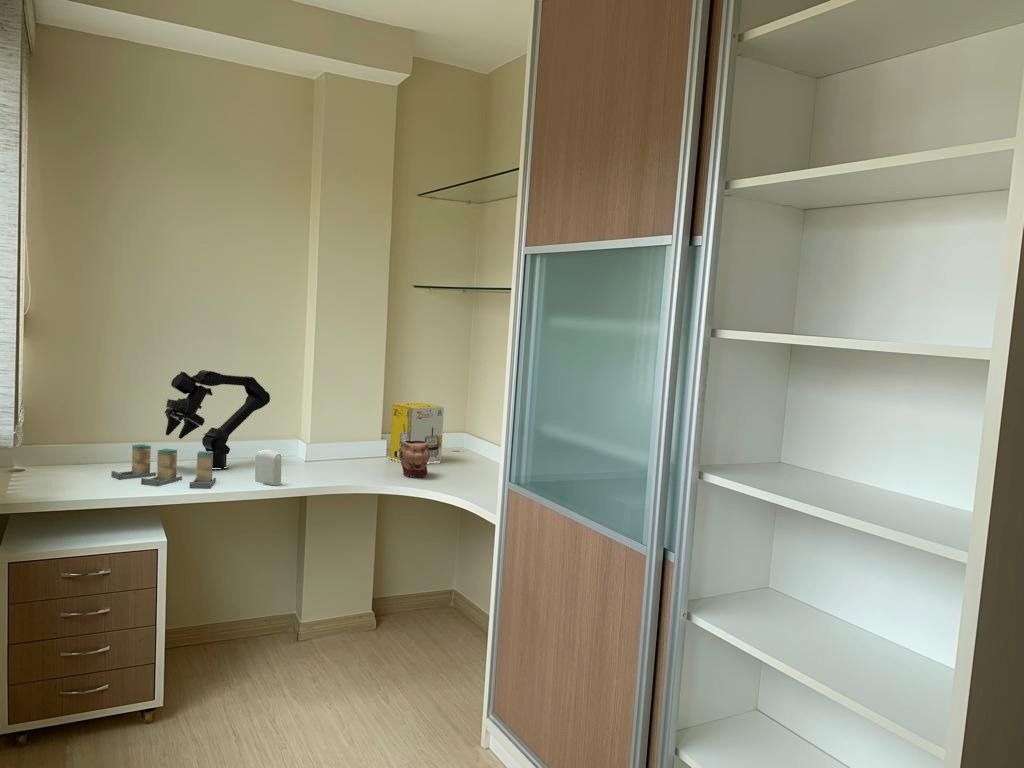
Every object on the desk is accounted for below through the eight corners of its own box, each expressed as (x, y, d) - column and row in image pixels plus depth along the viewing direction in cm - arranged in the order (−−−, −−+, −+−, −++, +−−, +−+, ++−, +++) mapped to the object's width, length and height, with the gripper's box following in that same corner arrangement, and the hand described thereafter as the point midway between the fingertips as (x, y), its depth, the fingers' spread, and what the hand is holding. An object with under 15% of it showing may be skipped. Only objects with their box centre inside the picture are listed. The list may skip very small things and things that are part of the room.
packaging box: (410, 466, 350) (413, 408, 348) (389, 459, 362) (392, 403, 360) (440, 463, 360) (443, 407, 359) (419, 457, 373) (422, 402, 371)
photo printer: (252, 482, 299) (254, 449, 298) (261, 480, 303) (262, 447, 302) (274, 486, 294) (275, 452, 293) (282, 484, 298) (283, 451, 297)
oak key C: (198, 481, 292) (199, 451, 292) (211, 481, 293) (212, 451, 292) (196, 484, 288) (197, 453, 287) (209, 484, 289) (210, 453, 288)
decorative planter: (391, 470, 337) (393, 437, 336) (420, 470, 342) (422, 437, 341) (406, 480, 319) (407, 445, 318) (435, 479, 324) (437, 444, 323)
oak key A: (144, 473, 300) (144, 443, 299) (149, 475, 297) (150, 445, 296) (131, 474, 297) (132, 444, 296) (137, 477, 294) (138, 446, 293)
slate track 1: (147, 474, 302) (147, 467, 302) (156, 477, 298) (156, 470, 298) (111, 477, 292) (111, 470, 292) (119, 481, 288) (120, 474, 288)
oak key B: (165, 478, 294) (166, 448, 293) (176, 480, 293) (177, 449, 292) (157, 481, 289) (157, 450, 288) (168, 482, 288) (168, 451, 287)
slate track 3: (196, 481, 294) (196, 475, 294) (215, 482, 295) (216, 475, 295) (189, 489, 281) (189, 482, 281) (210, 490, 283) (210, 482, 282)
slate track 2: (165, 479, 296) (165, 472, 295) (182, 481, 294) (182, 474, 294) (141, 485, 283) (141, 478, 283) (158, 487, 281) (158, 480, 281)
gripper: (164, 387, 310) (142, 423, 304) (190, 392, 298) (168, 430, 293) (187, 401, 318) (166, 436, 312) (214, 406, 306) (193, 443, 301)
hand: (173, 436), depth 304 cm, fingers open, 9 cm apart
